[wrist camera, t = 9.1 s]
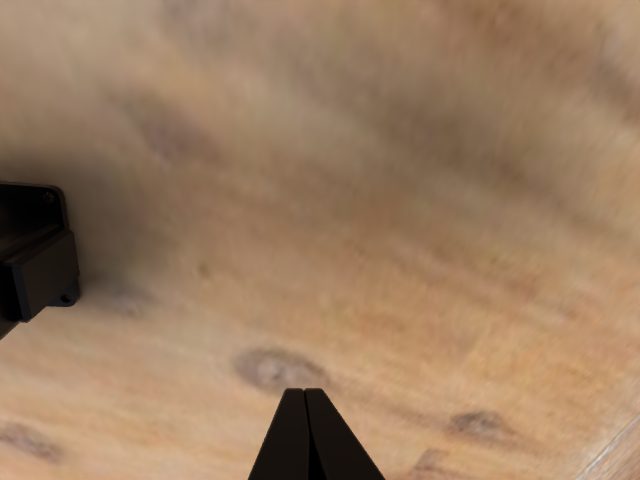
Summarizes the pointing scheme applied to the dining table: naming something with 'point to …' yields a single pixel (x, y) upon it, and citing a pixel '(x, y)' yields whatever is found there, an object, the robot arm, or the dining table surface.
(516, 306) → the dining table surface
